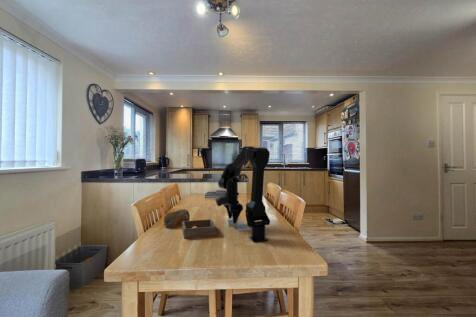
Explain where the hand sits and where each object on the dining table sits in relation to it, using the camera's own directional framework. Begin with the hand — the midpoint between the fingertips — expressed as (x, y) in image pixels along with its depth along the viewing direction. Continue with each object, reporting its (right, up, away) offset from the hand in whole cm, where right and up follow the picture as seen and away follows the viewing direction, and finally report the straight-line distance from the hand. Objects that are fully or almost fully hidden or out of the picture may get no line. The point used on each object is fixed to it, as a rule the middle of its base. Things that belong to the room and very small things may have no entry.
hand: (232, 221), depth 128 cm
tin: (-28, -3, +1) cm, 29 cm away
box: (-15, -3, -13) cm, 20 cm away
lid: (0, -4, 0) cm, 4 cm away
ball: (-17, -2, -15) cm, 22 cm away
